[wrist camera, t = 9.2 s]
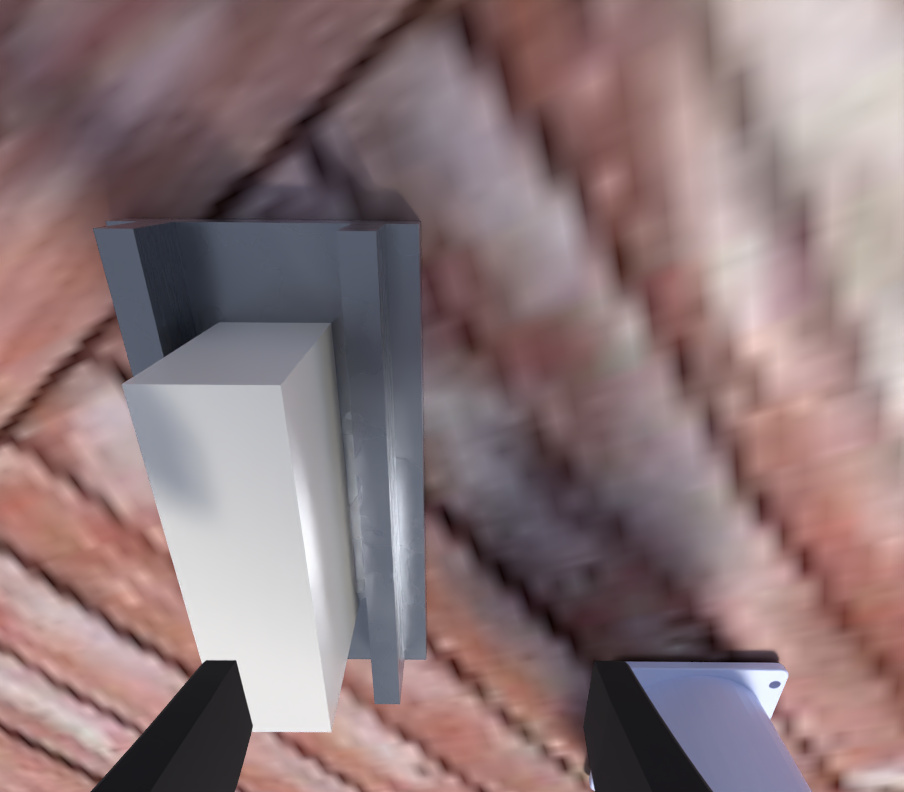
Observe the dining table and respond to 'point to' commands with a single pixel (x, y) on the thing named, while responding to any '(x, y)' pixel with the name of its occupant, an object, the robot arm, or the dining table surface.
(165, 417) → the grey metal bar
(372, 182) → the dining table surface
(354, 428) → the grey u-channel tray
